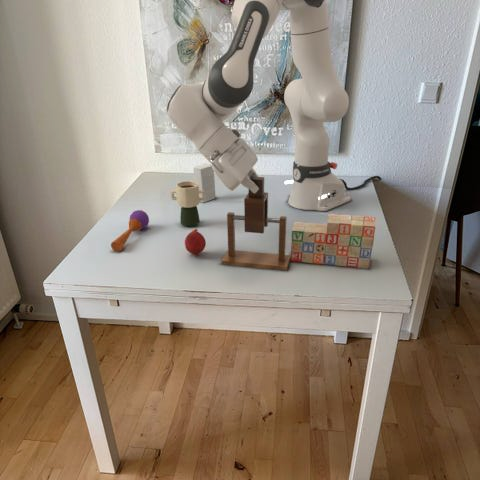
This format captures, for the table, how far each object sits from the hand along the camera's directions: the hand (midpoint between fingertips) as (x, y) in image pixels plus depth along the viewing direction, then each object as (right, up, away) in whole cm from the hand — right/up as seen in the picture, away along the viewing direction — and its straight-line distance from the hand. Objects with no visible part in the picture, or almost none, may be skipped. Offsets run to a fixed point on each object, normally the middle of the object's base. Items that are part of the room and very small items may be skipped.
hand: (258, 188), depth 123 cm
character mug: (-21, -2, +35) cm, 40 cm away
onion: (-17, -15, +16) cm, 28 cm away
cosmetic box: (-17, +10, +53) cm, 57 cm away
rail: (0, -17, +12) cm, 21 cm away
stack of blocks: (+20, -17, +12) cm, 29 cm away
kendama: (-38, -8, +26) cm, 47 cm away
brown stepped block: (0, -9, +6) cm, 11 cm away
